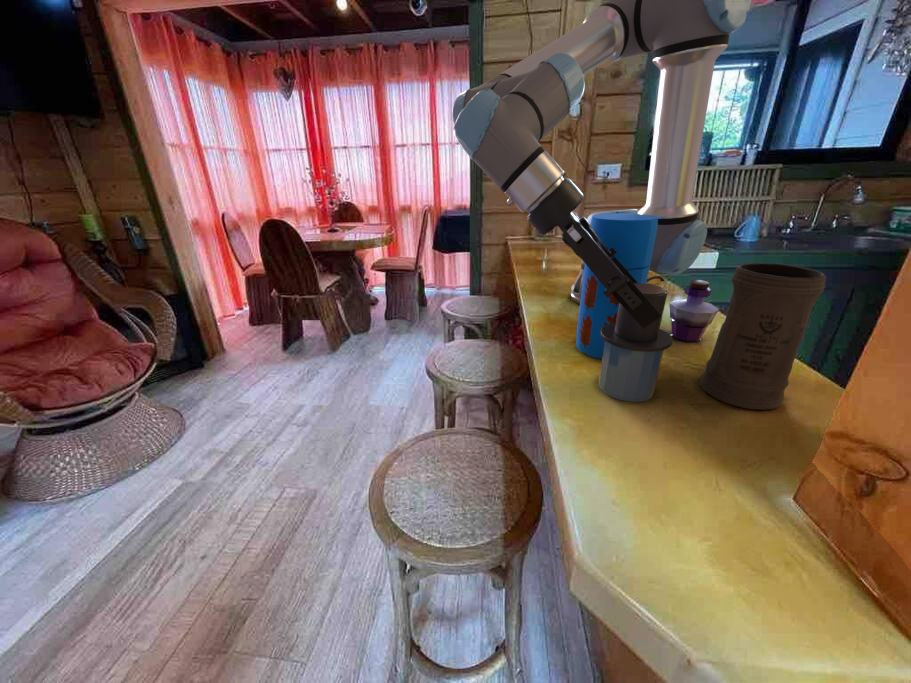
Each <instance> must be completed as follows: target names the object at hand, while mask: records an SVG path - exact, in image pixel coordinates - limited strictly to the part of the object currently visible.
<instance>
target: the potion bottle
mask: <svg viewBox="0 0 911 683" xmlns="http://www.w3.org/2000/svg"><path fill="white" fill-rule="evenodd" d="M710 284H711V283H710V282H709V281H705V280H702V279H692V280H690V281H689V285H686V286H685V288H684V292H683V293H684V294H685V295H687V298H686V299H676V300H673V301H671V302H669V318H671V320H670V323H671V324H670V325H671V326H670V327H671V334H670V335H671V337H672V339H674V340H677V341H681V342H684V343H698V342H700V341H702V337H703V335H704V333H705V332H706V330H707V328H708V327H709V325H711V324H712V322H713V321H714V319H715V318H716V316H717V314H718V312H719V311H720V309H719V307H717V306H715V305H714V304H712V303H710V302H705V299H706V298H709V297H710V296H711V294H712V288H711V287H710Z"/></svg>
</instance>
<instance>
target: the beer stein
mask: <svg viewBox="0 0 911 683" xmlns="http://www.w3.org/2000/svg"><path fill="white" fill-rule="evenodd" d="M826 280H827V275H826V273H825V272H821V271H820V270H816V269H812V268H809V267H803V266H797V265H789V264H781V263H768V262H767V263H765V262H762V263H761V262H755V263H753V262H752V263H743V264H740V265H738V266H736V269H735V271H734V273H733V274H732V277H731V283H732V286H733V290H732V292H731V296H730V300H729V304H728V307H727V311H726V316H725V319H724V321H723V323H722V324H721V326H720V330H719V332H718V335H717V338H716V342H715V344H714V347H713V350H712V352H711V355H710V357H709V359H708V360H707V361H706V363H705V369H704V371H703V372H702V375H701V376H700V378H699V385H700V387H701V388H702V389H703V390H704V392H705V393H707V395H710V396H711V397H713V398H715V399H717V400H718V401H720V402H723V403H726V404H728V405H731V406H733V407H734V406H735V407H739V408H741V409H749V410H757V411H759V410H760V411H761V410H762V411H764V410H765V411H767V410H775V409H777V408H779V407H781V406H782V404H783V402H784V397H785V396H784V395H785V390H786V388H788V386H789V384H790V382H789V378H790V377H789V376H790V374H791V372H792V369H793V365H794V361H795V359H796V356H797V353H798V350H799V348H800V345H801V343H802V340H803V338H804V334H805V331H806V329H807V326H808V322H809V319H810V316H811V313H812V310H813V308H814V306H815V304H816V302H817V301H818V299H819V298H820V296H821V294H822V293H823V292H824V291H825V289H826Z"/></svg>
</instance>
